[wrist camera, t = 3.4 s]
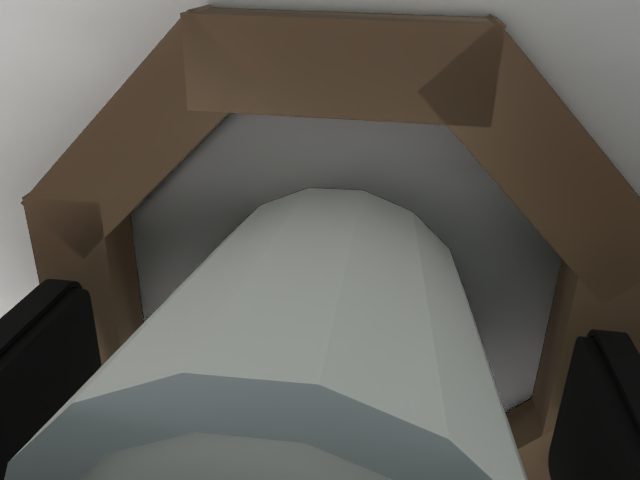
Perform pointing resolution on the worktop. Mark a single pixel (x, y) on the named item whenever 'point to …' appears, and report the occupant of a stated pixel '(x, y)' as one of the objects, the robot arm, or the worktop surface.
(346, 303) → the white cylinder
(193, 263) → the worktop surface
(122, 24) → the worktop surface
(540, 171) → the coaster ring
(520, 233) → the worktop surface
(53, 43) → the worktop surface
